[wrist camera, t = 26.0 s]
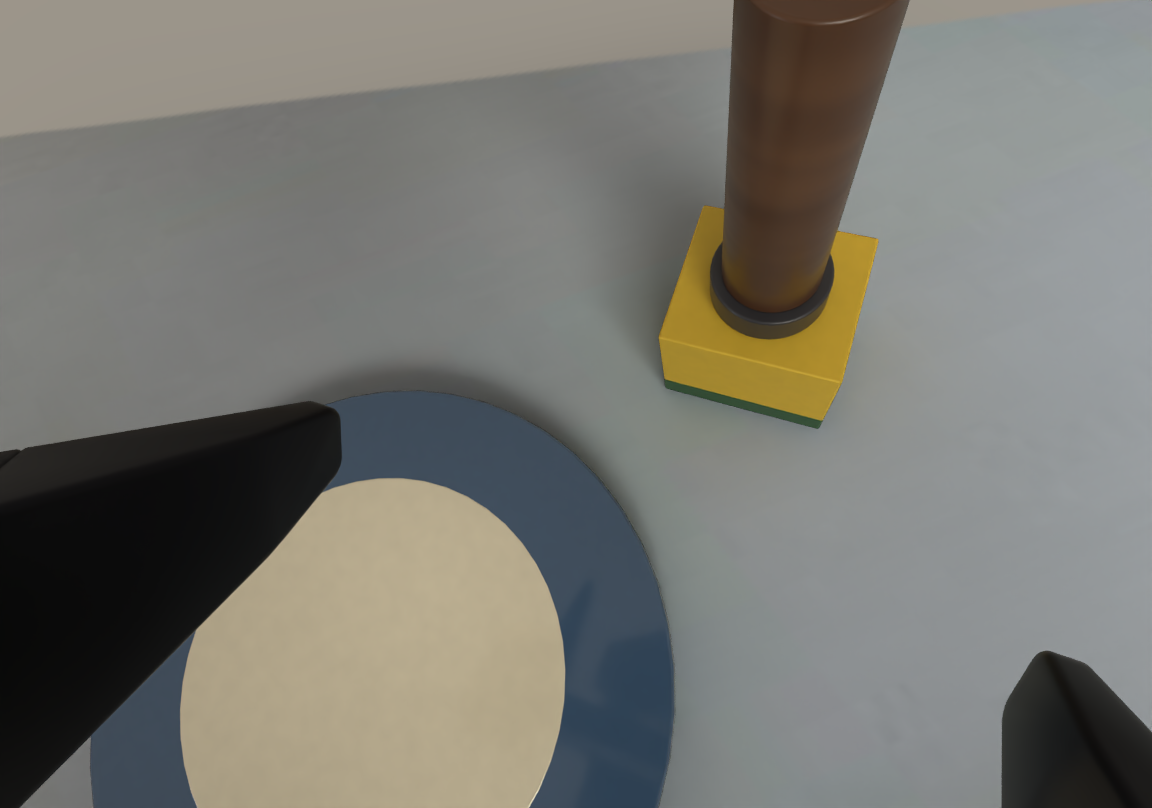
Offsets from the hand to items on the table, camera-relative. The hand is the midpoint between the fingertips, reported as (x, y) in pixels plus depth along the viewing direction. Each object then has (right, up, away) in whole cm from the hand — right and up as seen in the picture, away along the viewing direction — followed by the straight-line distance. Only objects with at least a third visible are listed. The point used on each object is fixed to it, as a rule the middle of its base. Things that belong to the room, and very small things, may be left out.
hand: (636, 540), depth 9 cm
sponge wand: (+5, +4, +14) cm, 16 cm away
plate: (-7, -7, +13) cm, 16 cm away
